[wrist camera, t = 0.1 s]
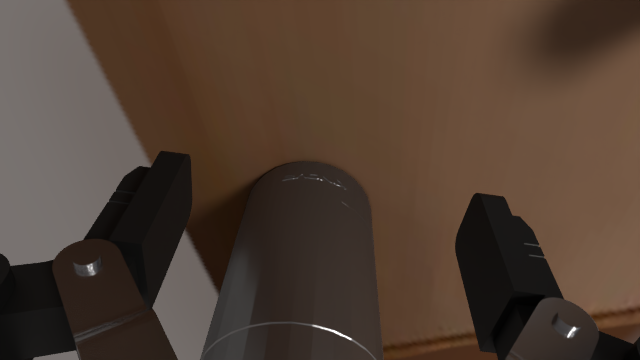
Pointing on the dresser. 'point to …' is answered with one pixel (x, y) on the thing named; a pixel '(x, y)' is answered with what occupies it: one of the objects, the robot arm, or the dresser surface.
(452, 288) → the dresser surface
